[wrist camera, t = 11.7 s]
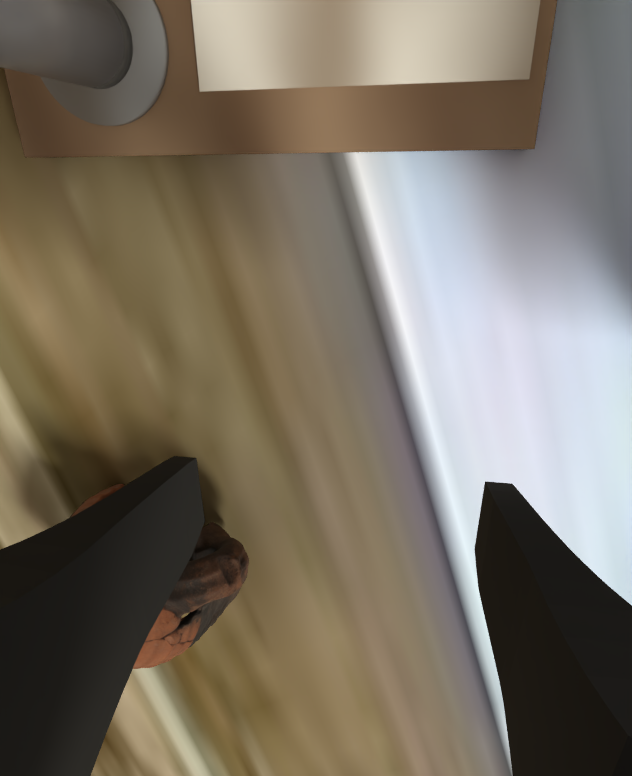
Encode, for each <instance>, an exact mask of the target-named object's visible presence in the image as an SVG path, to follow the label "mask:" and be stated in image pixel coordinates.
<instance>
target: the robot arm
mask: <svg viewBox="0 0 632 776" xmlns="http://www.w3.org/2000/svg"><path fill="white" fill-rule="evenodd" d="M204 522H205V519H204V512H203V504H202V497H201V490H200V482H199V475H198V467H197V460H196V458H190V457H178V456H174V457H172V458H170V459H168V460H166V461H164V462H163V463H161V464H159V465H158V466H156V467H154V468H153V469H151V470H150V471H148V472H146V473H145V474H143V475H142V476H140V477H138V478H137V479H135V480H134V481H132V482H130V483H129V484H127V485H126V486H124V487H122V488H121V489H119V490H117V491H116V492H114V493H113V494H111V495H109V496H108V497H106V498H104V499H102V500H101V501H99V502H97V503H95V504H94V505H92V506H90V507H88V508H87V509H85V510H83V511H81V512H79V513H78V514H76V515H74V516H72V517H71V518H69V519H67V520H65V521H63V522H61V523H59V524H57V525H55V526H53V527H51V528H49V529H47V530H45V531H42V532H40V533H38V534H36V535H34V536H32V537H30V538H27V539H25V540H23V541H21V542H18V543H16V544H13V545H11V546H8V547H6V548H3V549H1V550H0V776H90V775H91V773H92V770H93V767H94V764H95V762H96V759H97V756H98V754H99V751H100V748H101V746H102V743H103V740H104V738H105V735H106V732H107V730H108V727H109V725H110V722H111V720H112V717H113V715H114V712H115V710H116V707H117V705H118V702H119V700H120V697H121V695H122V692H123V690H124V688H125V685H126V683H127V681H128V678H129V676H130V674H131V671H132V669H133V667H134V664H135V662H136V660H137V657H138V655H139V653H140V650H141V648H142V646H143V644H144V642H145V640H146V638H147V636H148V634H149V632H150V631H151V629H152V627H153V625H154V623H155V622H156V620H157V618H158V616H159V614H160V613H161V611H162V609H163V607H164V605H165V604H166V602H167V600H168V598H169V596H170V595H171V593H172V591H173V589H174V587H175V586H176V584H177V582H178V580H179V578H180V576H181V575H182V573H183V571H184V569H185V567H186V565H187V563H188V562H189V560H190V558H191V556H192V553H193V551H194V548H195V546H196V543H197V541H198V538H199V536H200V533H201V530H202V527H203V525H204ZM475 557H476V568H477V578H478V587H479V592H480V597H481V601H482V606H483V610H484V615H485V619H486V624H487V628H488V632H489V637H490V641H491V646H492V650H493V654H494V659H495V663H496V667H497V672H498V676H499V680H500V686H501V691H502V696H503V702H504V709H505V716H506V724H507V732H508V740H509V747H510V755H511V764H512V773H513V776H632V606H631V605H630V604H629V603H628V602H627V601H625V600H624V599H623V598H622V597H621V596H619V595H618V594H617V593H616V592H615V591H614V590H612V589H611V588H610V587H609V586H608V585H607V584H606V583H604V582H603V581H602V580H601V579H600V578H599V577H598V576H597V575H596V574H595V573H594V572H593V571H592V570H591V569H589V568H588V567H587V566H586V565H585V564H584V563H583V562H582V561H581V560H580V559H579V558H578V557H577V556H576V555H575V554H574V553H573V552H572V551H571V550H570V549H569V548H568V547H567V546H566V545H565V543H564V542H563V541H562V540H561V539H560V538H559V537H558V536H557V535H556V534H555V533H554V532H553V531H552V529H551V528H550V527H549V526H548V525H547V524H546V523H545V521H544V520H543V519H542V518H541V517H540V516H539V515H538V513H537V512H536V511H535V510H534V509H533V508H532V506H531V505H530V504H529V503H528V502H527V500H526V499H525V498H524V497H523V496H522V494H521V493H520V492H519V491H518V490H517V489H516V488H515V486H514V485H513V484H508V483H496V482H485V486H484V493H483V499H482V505H481V512H480V518H479V525H478V531H477V538H476V544H475Z"/></svg>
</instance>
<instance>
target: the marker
mask: <svg viewBox="0 0 632 776" xmlns="http://www.w3.org/2000/svg"><path fill="white" fill-rule="evenodd" d="M132 55H133V42H132V35H131V31H130V28H129V25H128V23H127V20H126V19H125V17H124V15H123V13H122V12H121V10H120V9H119V8H118V7H117V6H116V4H115V3H113V2H112V1H111V0H0V67H1V68H6V69H10V70H15V71H19V72H23V73H28V74H32V75H37V76H41V77H46V78H50V79H55V80H59V81H63V82H68V83H72V84H77V85H81V86H86V87H90V88H95V89H108V88H111V87H113V86H115V85H117V84H118V83H119V82H120V81H121V80H122V79H123V78H124V77H125V76H126V74H127V72H128V70H129V68H130V65H131V61H132Z"/></svg>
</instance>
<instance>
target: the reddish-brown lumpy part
mask: <svg viewBox="0 0 632 776" xmlns="http://www.w3.org/2000/svg"><path fill="white" fill-rule="evenodd" d="M122 487H124V484H117V485H114V486H111V487H109V488H108V489H105V490H102V491H100V492H99V493H97V494H96V495H94V496H92V497H90V498H88V499H87V500H86V501H85V502H83V503H82V504H81V505H80V507H79V508H78V509H77V510H76V511H75V512H74V513H73V514H72V515H71V517H72V516H74V515H76V514H78V513H79V512H81V511H83V510H85V509H87V508H88V507H90V506H92V505H94V504H95V503H97V502H99V501H101V500H102V499H104V498H106V497H108V496H109V495H111V494H113V493H114V492H116V491H117V490H119V489H121V488H122ZM71 517H70V518H71ZM248 564H249V558H248V555H247V553H246V552H245V550H244V547H243V545H242V544H241V543H240V542H239V541H237V540H236V539H234V538H231V537H230V536H229V535H228V534H227V533H226V532H225V530H223V529H222V528H221V527H220V526H219V525H217V524H216V523H214V522H210V523H209V524H208V525H207V526H204V527H203V528H202V530H201V533H200V536H199V538H198V541H197V543H196V546H195V548H194V551H193V553H192V556H191V558H190V560H189V562H188V563H187V565H186V567H185V569H184V571H183V573H182V575H181V576H180V578H179V580H178V582H177V584H176V586H175V587H174V589H173V591H172V593H171V595H170V596H169V598H168V600H167V602H166V604H165V605H164V607H163V609H162V611H161V613H160V614H159V616H158V618H157V620H156V622H155V623H154V625H153V627H152V629H151V631H150V632H149V634H148V636H147V638H146V640H145V642H144V644H143V646H142V648H141V650H140V653H139V655H138V657H137V660H136V662H135V664H134V667H133V669H138V668H150V667H154V666H157V665H159V664H161V663H164V662H167V661H169V660H171V659H172V658H173V657H174V656H178V655H180V654H182V653H183V652H184V651H185V650H186V649H187V648H189V647H191V646H192V645H193V644H194V643H195V642H196V641H198V640H199V639H200V637H201V636H202V635H203V634H204V633H205V632H206V631H207V630H208V628H209V627H210V626H212V625H213V624H214V623H215V622H216V620H217V618H218V617H219V616H220V615H221V614H222V613H223V611H224V609H225V608H226V607H227V606H228V604H229V603H230V602H231V601H232V600H233V599H234V598H235V597H236V596H237V594H238V592H239V590H240V588H241V586H242V584H243V583H244V581H245V580H246V577H247V572H248ZM189 612H190V613H189ZM185 613H189V614H188V615H187V616H186V617H184V618H182V619H181V616H182V615H183V614H185Z"/></svg>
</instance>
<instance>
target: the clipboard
mask: <svg viewBox="0 0 632 776" xmlns="http://www.w3.org/2000/svg"><path fill="white" fill-rule="evenodd" d="M111 1H112V2H113V3H115V4H116V6H117V7H118V8H119V9H120V10H121V12H122V13H123V15H124V17H125V19H126V20H127V23H128V25H129V28H130V31H131V35H132V42H133V55H132V61H131V65H130V68H129V70H128V72H127V74H126V76H125V77H124V78H123V79H122V80H121V81H120V82H119V83H118V84H117V85H115V86H113V87H111V88H108V89H95V88H90V87H86V86H81V85H77V84H72V83H68V82H63V81H59V80H55V79H50V78H46V77H41V76H37V75H32V74H28V73H23V72H19V71H15V70H10V69H6V68H4V71H5V75H6V79H7V83H8V88H9V92H10V96H11V100H12V105H13V109H14V113H15V117H16V122H17V126H18V130H19V134H20V139H21V143H22V147H23V151H24V156H25V157H93V156H153V155H212V154H272V153H331V152H391V151H450V150H510V149H534V148H535V141H536V135H537V128H538V122H539V115H540V109H541V102H542V96H543V89H544V83H545V76H546V70H547V63H548V57H549V50H550V44H551V37H552V31H553V24H554V18H555V11H556V5H557V0H111Z"/></svg>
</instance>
